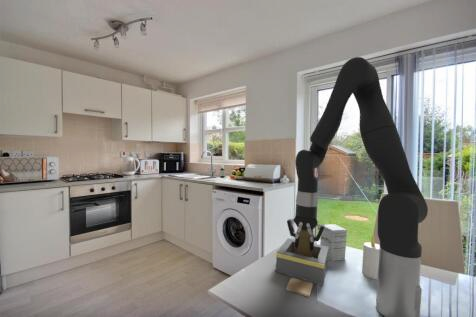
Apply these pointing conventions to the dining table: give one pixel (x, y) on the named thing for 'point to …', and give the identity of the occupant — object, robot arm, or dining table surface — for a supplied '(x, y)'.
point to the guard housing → (302, 262)
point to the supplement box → (334, 241)
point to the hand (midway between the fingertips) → (304, 249)
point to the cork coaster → (299, 287)
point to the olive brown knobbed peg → (304, 243)
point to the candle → (371, 259)
